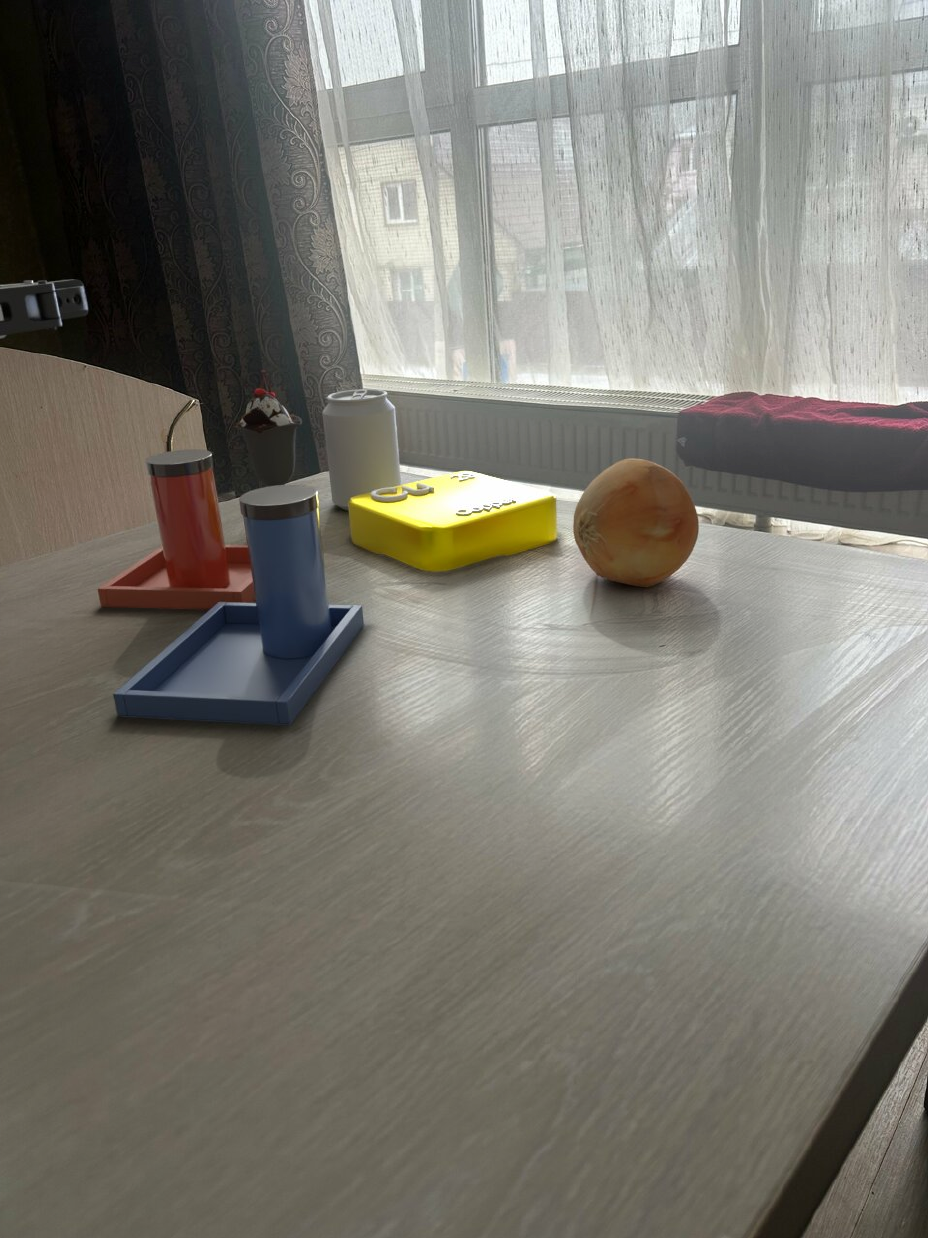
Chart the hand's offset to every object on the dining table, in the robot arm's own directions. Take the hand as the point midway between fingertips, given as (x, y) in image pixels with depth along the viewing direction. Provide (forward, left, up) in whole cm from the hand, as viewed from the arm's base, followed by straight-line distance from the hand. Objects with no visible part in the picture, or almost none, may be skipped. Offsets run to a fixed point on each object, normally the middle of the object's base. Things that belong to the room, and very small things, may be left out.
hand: (32, 297), depth 63 cm
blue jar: (+15, 0, -24) cm, 29 cm away
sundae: (+1, +32, -25) cm, 40 cm away
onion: (+38, +15, -25) cm, 48 cm away
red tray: (+2, +11, -25) cm, 27 cm away
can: (+9, +37, -25) cm, 45 cm away
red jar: (+3, +11, -24) cm, 27 cm away
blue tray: (+13, -4, -25) cm, 28 cm away
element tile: (+21, +25, -25) cm, 41 cm away
